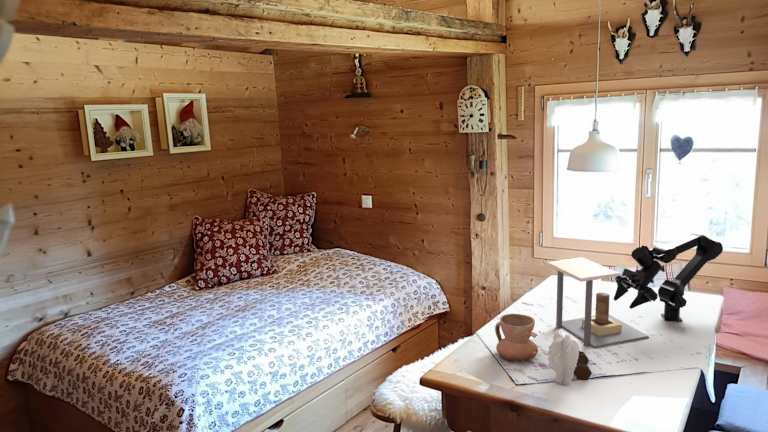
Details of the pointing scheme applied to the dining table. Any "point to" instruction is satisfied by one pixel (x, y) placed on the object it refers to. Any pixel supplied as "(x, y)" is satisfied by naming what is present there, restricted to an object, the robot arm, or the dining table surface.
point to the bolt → (582, 367)
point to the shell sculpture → (563, 357)
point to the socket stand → (590, 306)
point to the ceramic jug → (516, 337)
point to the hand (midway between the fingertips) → (622, 303)
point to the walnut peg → (602, 309)
